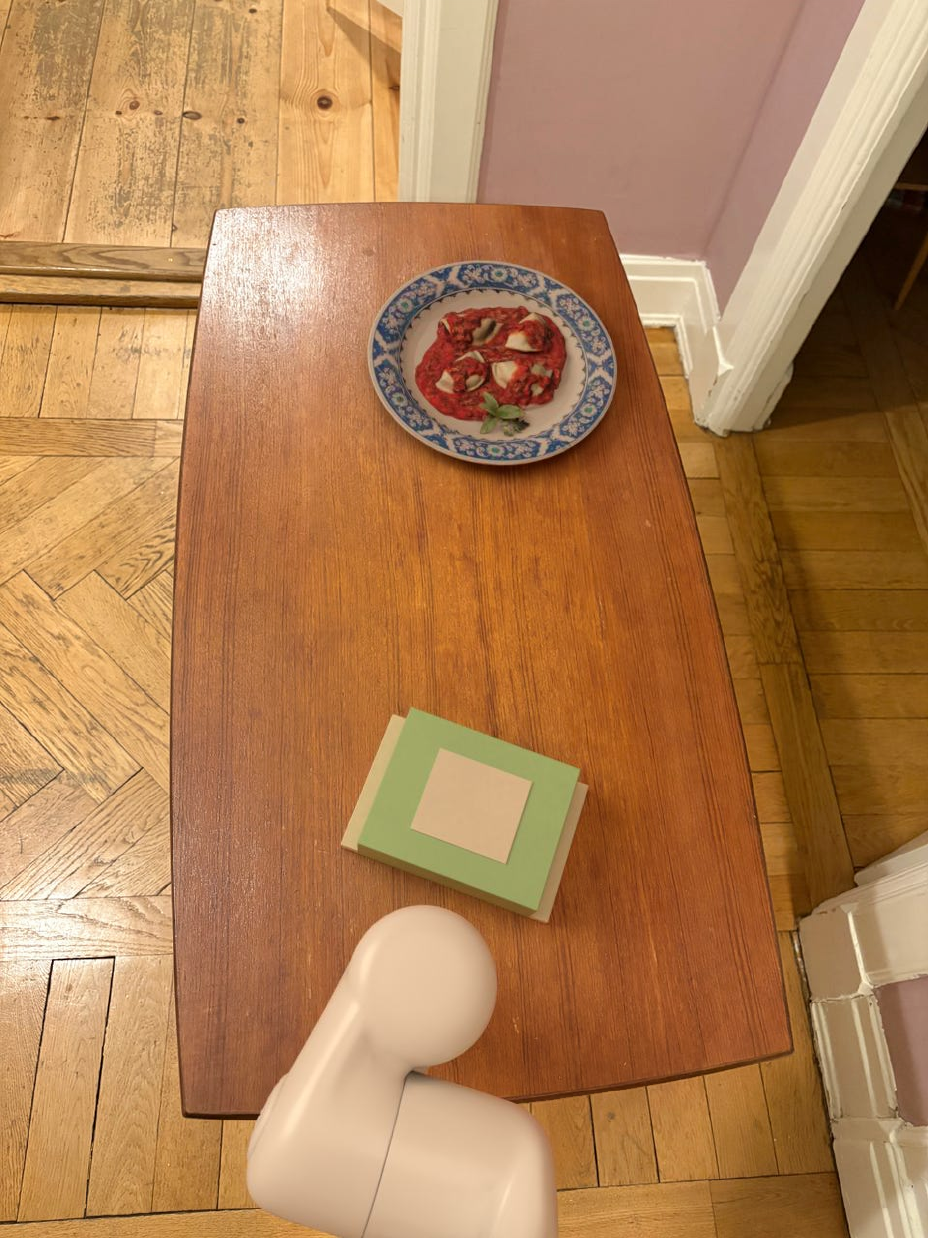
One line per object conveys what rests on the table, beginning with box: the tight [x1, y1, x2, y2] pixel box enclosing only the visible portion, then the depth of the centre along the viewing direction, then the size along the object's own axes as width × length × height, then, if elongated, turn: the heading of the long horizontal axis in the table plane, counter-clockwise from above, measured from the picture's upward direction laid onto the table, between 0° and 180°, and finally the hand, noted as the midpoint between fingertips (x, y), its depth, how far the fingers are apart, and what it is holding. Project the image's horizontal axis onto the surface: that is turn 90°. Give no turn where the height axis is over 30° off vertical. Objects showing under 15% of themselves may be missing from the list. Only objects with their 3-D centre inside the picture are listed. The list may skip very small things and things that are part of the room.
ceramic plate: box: [366, 259, 618, 466], centre depth 98 cm, size 26×26×3 cm
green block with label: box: [340, 706, 590, 925], centre depth 78 cm, size 12×18×5 cm, turn 71°
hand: (400, 1004), depth 73 cm, fingers closed
